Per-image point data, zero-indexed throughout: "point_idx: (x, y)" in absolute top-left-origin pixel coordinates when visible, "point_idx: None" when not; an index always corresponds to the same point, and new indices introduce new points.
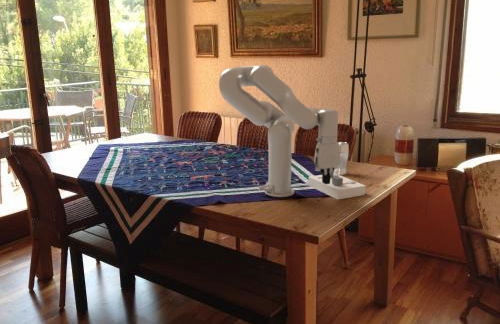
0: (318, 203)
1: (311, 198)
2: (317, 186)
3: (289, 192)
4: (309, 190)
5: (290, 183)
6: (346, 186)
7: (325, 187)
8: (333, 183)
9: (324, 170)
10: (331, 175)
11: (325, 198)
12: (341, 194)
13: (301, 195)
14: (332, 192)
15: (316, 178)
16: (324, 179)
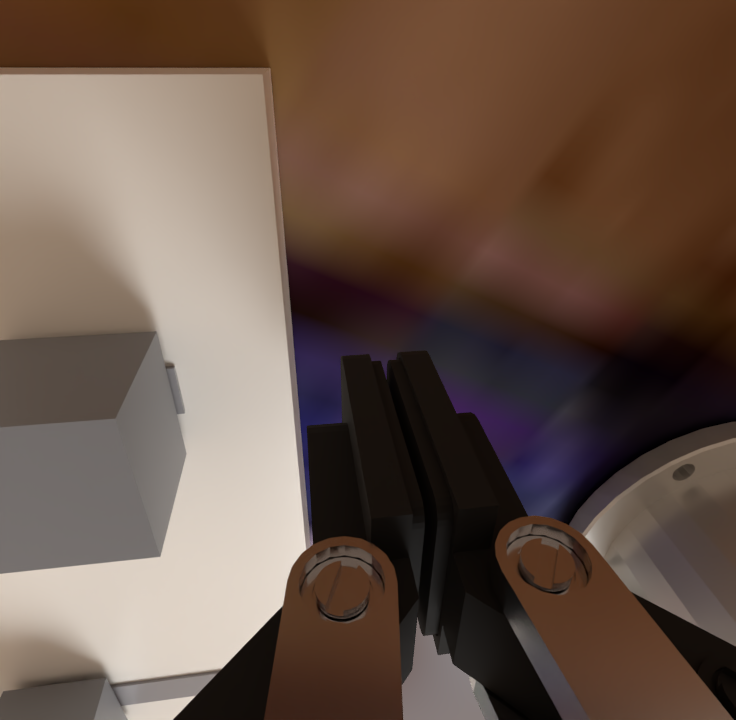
0: (663, 45)
1: (573, 287)
2: (308, 543)
3: (696, 474)
4: None
5: (720, 578)
6: None
7: (298, 437)
8: (174, 433)
9: (701, 683)
10: (31, 709)
11: (415, 211)
12: (173, 69)
13: (584, 414)
14: (282, 251)
15: None
16: (487, 444)
